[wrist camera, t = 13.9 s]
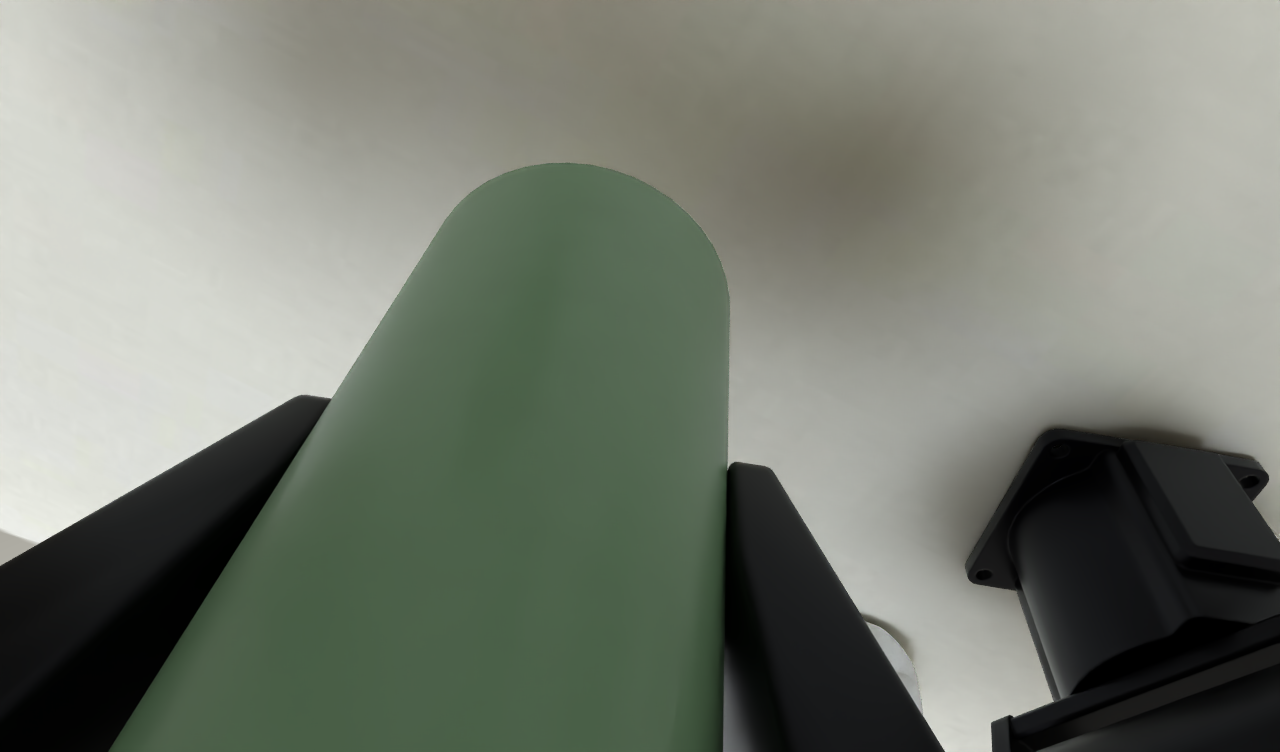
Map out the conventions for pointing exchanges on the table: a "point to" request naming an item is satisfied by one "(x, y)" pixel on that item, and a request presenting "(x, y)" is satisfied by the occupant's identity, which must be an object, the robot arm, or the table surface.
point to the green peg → (493, 506)
